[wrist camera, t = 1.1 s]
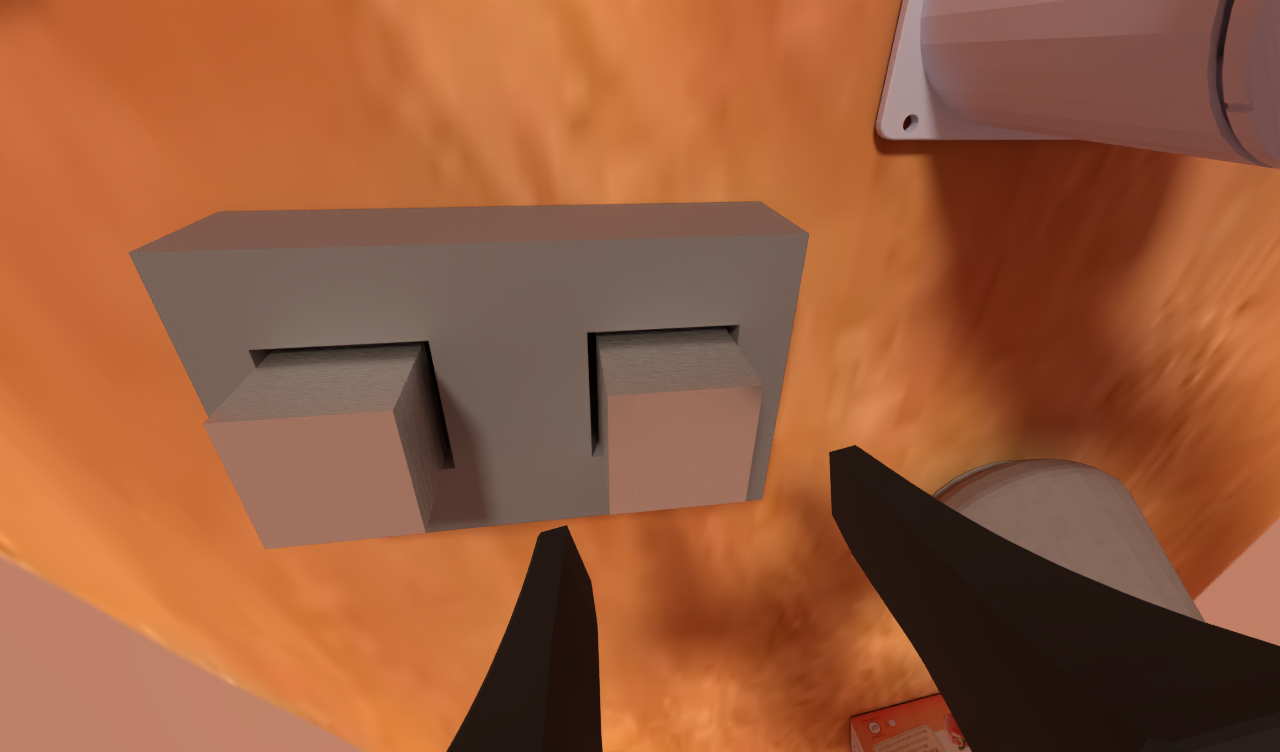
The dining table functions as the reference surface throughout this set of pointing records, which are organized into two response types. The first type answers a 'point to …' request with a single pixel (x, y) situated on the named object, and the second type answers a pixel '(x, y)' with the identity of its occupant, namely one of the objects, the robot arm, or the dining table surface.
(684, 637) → the dining table surface
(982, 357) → the dining table surface
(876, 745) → the cracker box
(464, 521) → the block
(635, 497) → the pink matte cube
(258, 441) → the greyish pink cube
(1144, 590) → the coffee pot
